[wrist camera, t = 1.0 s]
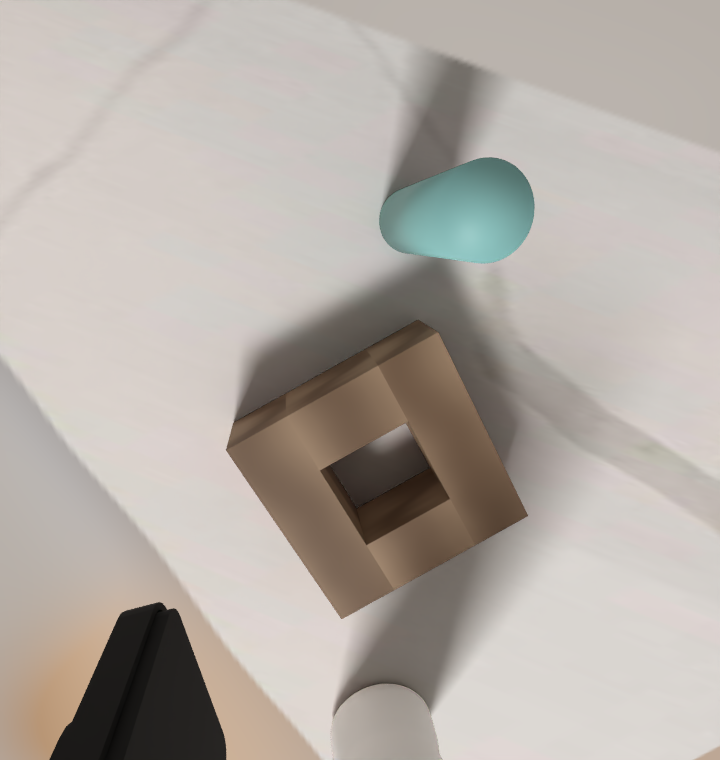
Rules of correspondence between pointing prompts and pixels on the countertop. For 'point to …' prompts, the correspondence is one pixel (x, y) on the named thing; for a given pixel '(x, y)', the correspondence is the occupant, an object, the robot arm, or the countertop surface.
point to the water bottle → (384, 726)
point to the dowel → (462, 213)
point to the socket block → (397, 506)
